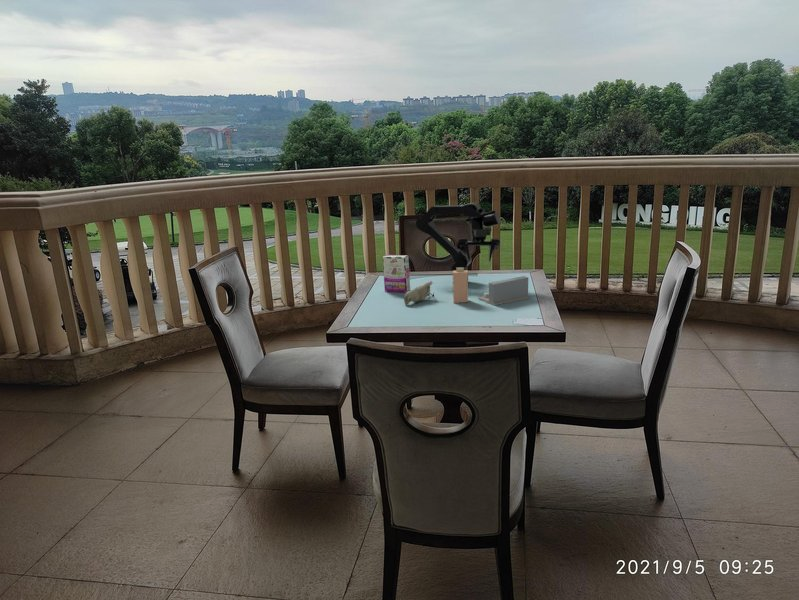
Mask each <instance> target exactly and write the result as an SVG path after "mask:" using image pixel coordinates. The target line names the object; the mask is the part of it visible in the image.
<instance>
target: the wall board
mask: <svg viewBox="0 0 799 600" xmlns="http://www.w3.org/2000/svg"><path fill="white" fill-rule="evenodd" d="M479 299H480V300H479ZM527 299H530V295H529V277H528V276H525V275H521V276H518V277H517V276H515V277H513V278H512V277H511V278H508V279H507V278H506V279H501V280H497V281H493V282H491V281H490V282H488V292H485V293H483V294H482V296H480V297H478V300H479V301H482V302H484V301H485V303H487V304H490V305H493V306H494V305H495V306H498V305H499V304H500V305H503V303H504V304H509V303H514V302H517V301H518V302H519V301H521V300H527ZM508 302H509V303H508Z"/></svg>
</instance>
